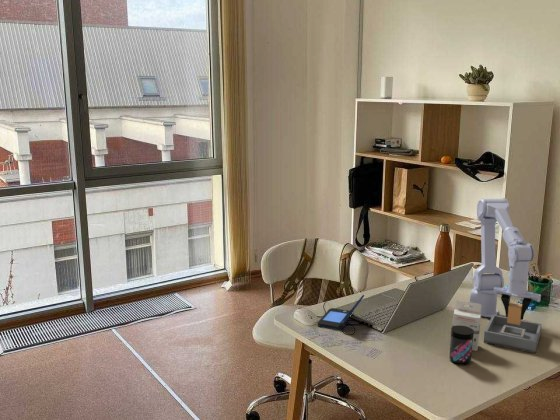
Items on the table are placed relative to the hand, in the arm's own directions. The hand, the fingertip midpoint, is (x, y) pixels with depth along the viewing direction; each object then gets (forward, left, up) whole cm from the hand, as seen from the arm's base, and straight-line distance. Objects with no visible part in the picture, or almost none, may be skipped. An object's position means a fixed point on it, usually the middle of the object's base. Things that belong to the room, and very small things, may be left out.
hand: (514, 317), depth 191 cm
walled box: (0, 0, -8) cm, 8 cm away
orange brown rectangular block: (0, 0, -2) cm, 2 cm away
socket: (0, 0, -8) cm, 8 cm away
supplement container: (-12, -25, -8) cm, 29 cm away
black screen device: (-57, -16, -8) cm, 60 cm away
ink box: (-13, -14, -8) cm, 21 cm away
